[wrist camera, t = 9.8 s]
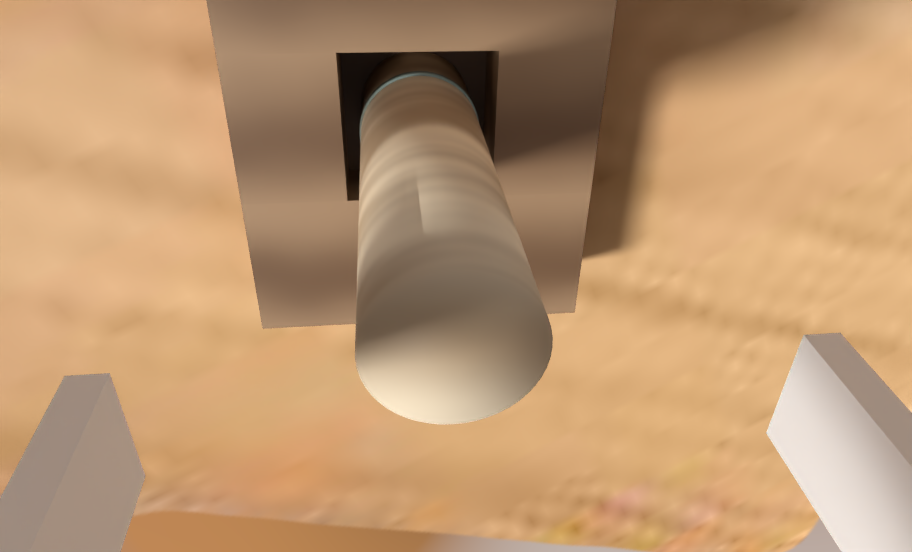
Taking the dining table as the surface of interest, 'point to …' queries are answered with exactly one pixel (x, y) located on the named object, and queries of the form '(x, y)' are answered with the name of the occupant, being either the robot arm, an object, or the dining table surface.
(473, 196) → the peg
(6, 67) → the dining table surface
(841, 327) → the dining table surface
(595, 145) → the board
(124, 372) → the dining table surface
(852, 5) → the dining table surface
